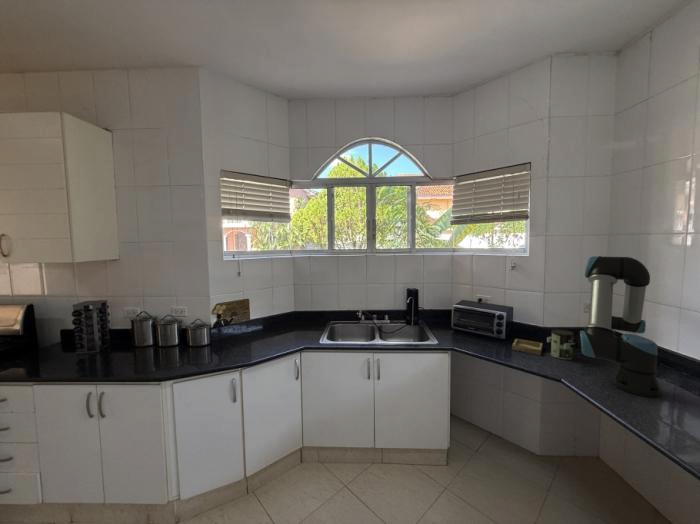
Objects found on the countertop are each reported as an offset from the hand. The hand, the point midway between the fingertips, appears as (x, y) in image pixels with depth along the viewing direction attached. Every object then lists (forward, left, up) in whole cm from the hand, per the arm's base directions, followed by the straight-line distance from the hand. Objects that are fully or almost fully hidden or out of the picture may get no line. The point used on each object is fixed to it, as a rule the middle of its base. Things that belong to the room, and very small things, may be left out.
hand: (555, 343), depth 168 cm
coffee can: (+3, -3, -8) cm, 9 cm away
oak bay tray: (+5, +14, -8) cm, 17 cm away
